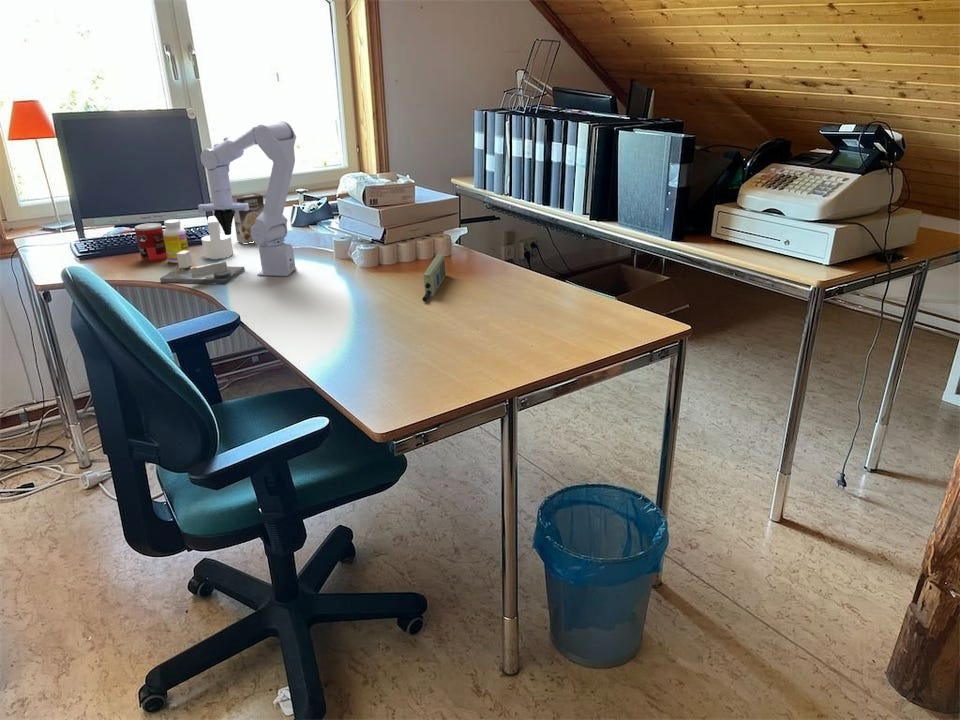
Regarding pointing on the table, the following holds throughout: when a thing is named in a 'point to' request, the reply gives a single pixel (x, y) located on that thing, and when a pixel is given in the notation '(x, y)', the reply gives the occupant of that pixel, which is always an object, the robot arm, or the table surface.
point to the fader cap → (184, 259)
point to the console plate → (185, 277)
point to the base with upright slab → (216, 241)
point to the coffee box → (247, 215)
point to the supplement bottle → (174, 239)
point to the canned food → (151, 242)
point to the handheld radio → (434, 276)
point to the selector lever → (210, 270)
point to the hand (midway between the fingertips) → (228, 234)
